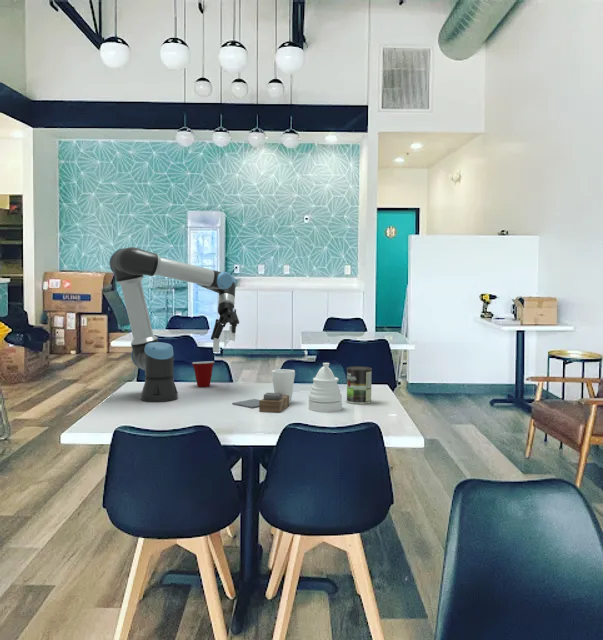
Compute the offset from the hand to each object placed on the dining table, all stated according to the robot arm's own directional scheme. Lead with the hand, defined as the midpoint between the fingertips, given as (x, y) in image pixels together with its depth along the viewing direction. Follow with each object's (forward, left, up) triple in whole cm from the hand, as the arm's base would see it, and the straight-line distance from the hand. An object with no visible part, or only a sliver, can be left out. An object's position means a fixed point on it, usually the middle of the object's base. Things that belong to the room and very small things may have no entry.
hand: (223, 345), depth 273 cm
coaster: (-9, -30, -21) cm, 38 cm away
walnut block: (-10, -42, -21) cm, 48 cm away
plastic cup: (+5, +21, -21) cm, 30 cm away
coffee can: (+24, -58, -21) cm, 66 cm away
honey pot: (+4, -57, -21) cm, 61 cm away
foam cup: (+2, -36, -21) cm, 42 cm away
